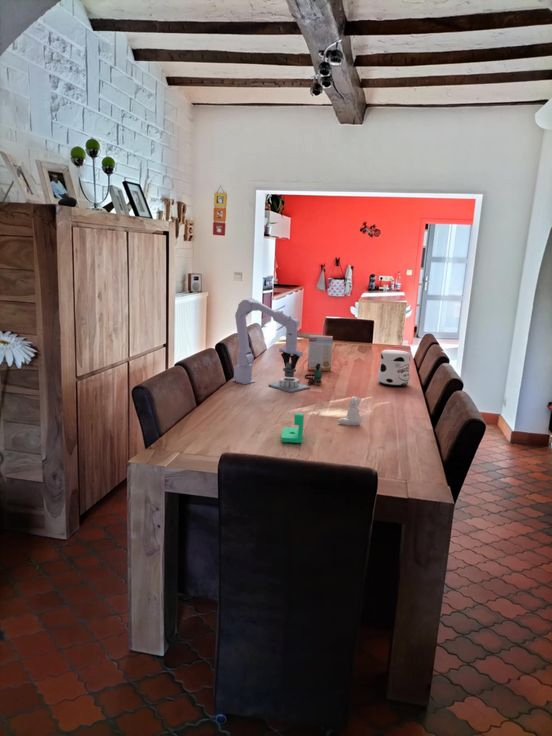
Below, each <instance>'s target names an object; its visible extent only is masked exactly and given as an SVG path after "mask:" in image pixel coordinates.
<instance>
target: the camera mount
mask: <svg viewBox="0 0 552 736" xmlns="http://www.w3.org/2000/svg"><path fill="white" fill-rule="evenodd" d="M304 415H305V414H304V413H297V412H295V413H294V418H293V419H294V421H293V424H294V426H298V427H285V426H284V427H283V428H282V432H281V436H280V437H281V440H280V441H281V442H283V443H295V444H296V443H297V444H299V443H301V444H302V443H303V442H302V441H303V433H304V419H305V418H304V417H305V416H304Z"/></svg>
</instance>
